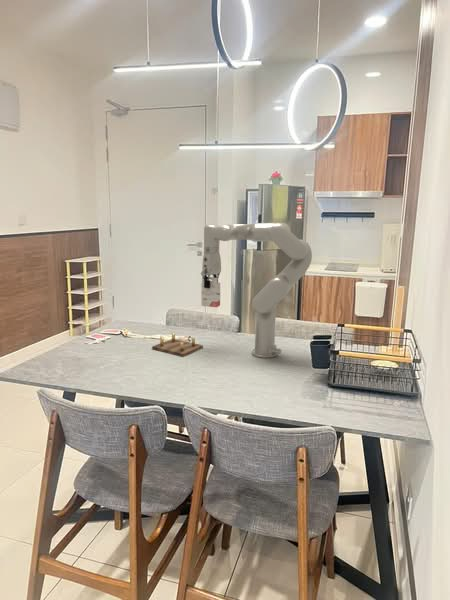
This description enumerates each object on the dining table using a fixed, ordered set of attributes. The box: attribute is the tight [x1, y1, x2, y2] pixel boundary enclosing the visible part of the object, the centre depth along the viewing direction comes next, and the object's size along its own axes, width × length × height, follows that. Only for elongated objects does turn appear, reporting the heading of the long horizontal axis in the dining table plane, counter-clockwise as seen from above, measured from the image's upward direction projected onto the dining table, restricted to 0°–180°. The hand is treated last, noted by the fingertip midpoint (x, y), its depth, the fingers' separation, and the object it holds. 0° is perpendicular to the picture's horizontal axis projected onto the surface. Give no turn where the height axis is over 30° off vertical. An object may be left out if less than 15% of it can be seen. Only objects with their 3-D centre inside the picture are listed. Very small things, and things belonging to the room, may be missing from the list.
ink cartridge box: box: [200, 276, 221, 308], centre depth 210 cm, size 9×5×15 cm, turn 72°
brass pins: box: [159, 333, 196, 351], centre depth 215 cm, size 15×11×4 cm
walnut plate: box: [151, 338, 204, 358], centre depth 215 cm, size 20×16×2 cm
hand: (211, 286), depth 210 cm, fingers closed on ink cartridge box, 5 cm apart
